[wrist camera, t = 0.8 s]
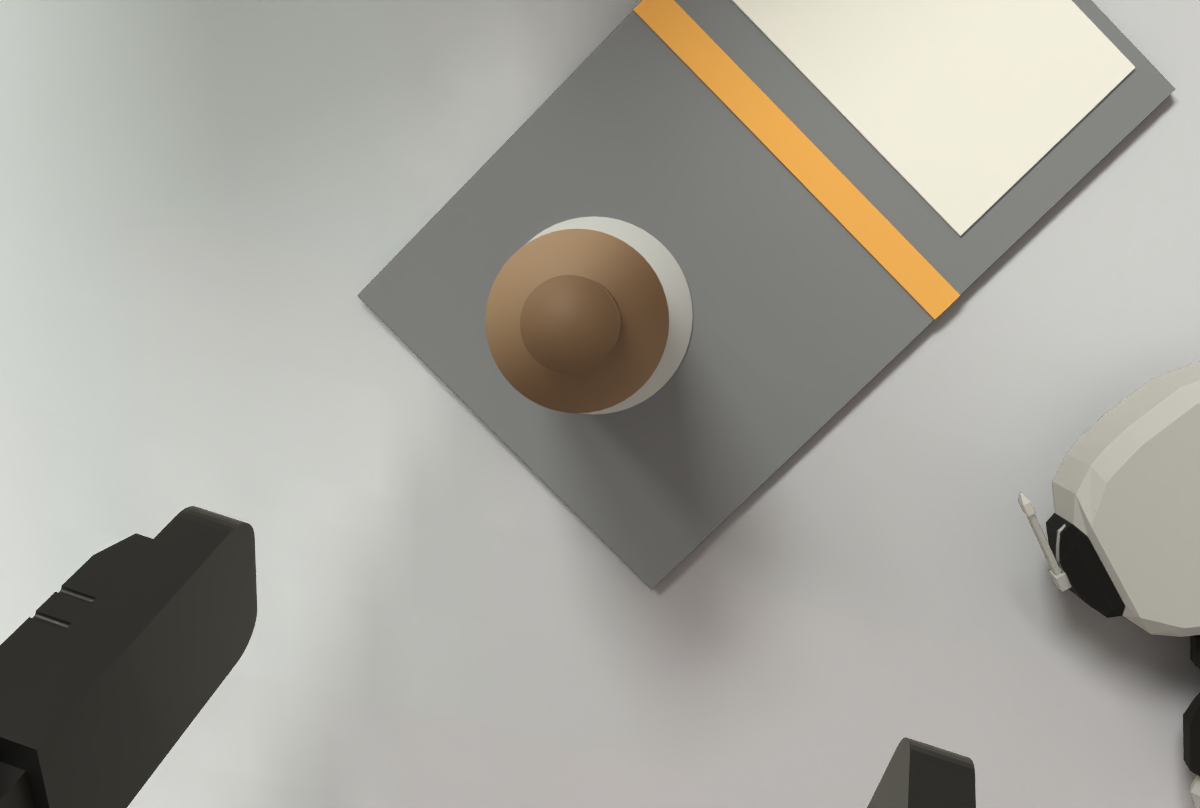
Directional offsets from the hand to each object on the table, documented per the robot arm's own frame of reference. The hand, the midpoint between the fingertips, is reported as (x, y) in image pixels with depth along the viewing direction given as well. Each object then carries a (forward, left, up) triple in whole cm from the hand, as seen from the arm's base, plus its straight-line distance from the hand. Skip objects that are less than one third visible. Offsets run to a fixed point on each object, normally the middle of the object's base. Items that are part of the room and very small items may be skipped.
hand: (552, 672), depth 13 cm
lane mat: (-2, +9, -26) cm, 28 cm away
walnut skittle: (-3, +2, -26) cm, 26 cm away
